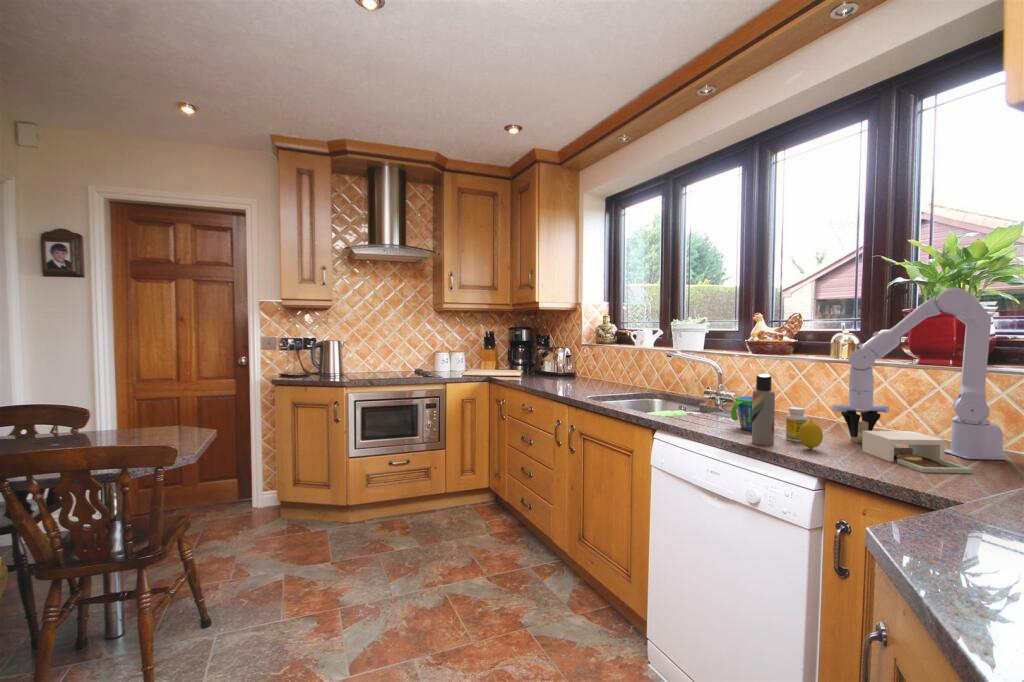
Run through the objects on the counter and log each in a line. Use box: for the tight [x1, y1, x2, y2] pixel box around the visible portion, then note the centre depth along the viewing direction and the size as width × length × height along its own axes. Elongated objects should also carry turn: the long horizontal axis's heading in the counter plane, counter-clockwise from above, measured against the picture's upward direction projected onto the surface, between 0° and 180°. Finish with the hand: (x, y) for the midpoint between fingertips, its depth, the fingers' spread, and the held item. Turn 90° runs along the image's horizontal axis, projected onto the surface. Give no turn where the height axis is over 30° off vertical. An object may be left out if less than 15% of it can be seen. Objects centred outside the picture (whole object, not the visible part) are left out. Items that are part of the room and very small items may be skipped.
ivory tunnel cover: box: [861, 430, 946, 463], centre depth 123 cm, size 13×10×6 cm
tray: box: [896, 458, 973, 474], centre depth 113 cm, size 11×8×1 cm
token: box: [896, 453, 923, 463], centre depth 120 cm, size 5×5×1 cm
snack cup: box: [730, 396, 753, 432], centre depth 156 cm, size 16×10×10 cm
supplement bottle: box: [785, 406, 808, 443], centre depth 141 cm, size 5×5×10 cm
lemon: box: [799, 420, 824, 450], centre depth 130 cm, size 6×6×8 cm
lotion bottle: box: [751, 373, 776, 447], centre depth 136 cm, size 6×6×20 cm
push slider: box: [850, 419, 913, 457], centre depth 131 cm, size 18×6×6 cm, turn 176°
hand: (860, 436), depth 138 cm, fingers closed on push slider, 3 cm apart
